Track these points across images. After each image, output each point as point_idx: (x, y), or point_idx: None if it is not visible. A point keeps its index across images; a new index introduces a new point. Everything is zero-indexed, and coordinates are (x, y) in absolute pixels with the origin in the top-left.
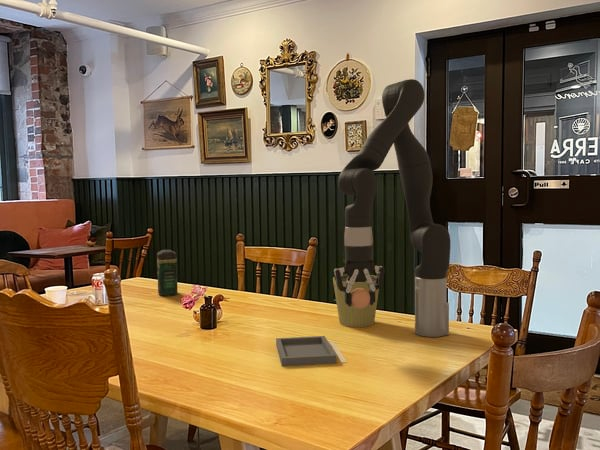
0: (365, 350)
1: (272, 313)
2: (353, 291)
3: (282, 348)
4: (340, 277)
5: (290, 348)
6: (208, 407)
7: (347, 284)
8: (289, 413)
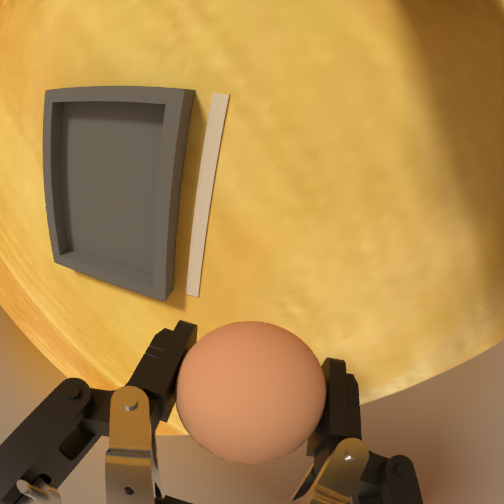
0: (299, 230)
1: None
2: (185, 428)
3: (50, 192)
4: (55, 482)
5: (78, 145)
6: (26, 332)
7: (123, 446)
8: (97, 385)
